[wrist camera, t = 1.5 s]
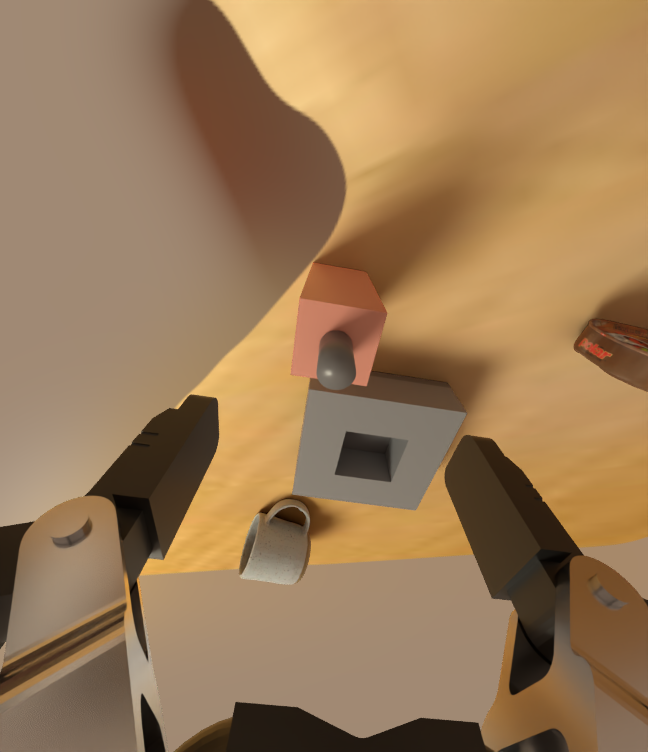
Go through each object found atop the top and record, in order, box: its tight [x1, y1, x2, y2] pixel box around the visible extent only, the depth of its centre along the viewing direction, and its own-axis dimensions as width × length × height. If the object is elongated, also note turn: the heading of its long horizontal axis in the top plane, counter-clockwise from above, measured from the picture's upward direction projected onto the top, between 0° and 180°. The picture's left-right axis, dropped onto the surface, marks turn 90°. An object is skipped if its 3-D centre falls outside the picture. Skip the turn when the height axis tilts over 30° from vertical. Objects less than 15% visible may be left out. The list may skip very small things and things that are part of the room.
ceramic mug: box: [239, 499, 311, 584], centre depth 39 cm, size 11×8×8 cm
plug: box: [291, 262, 387, 390], centre depth 19 cm, size 4×4×14 cm
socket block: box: [292, 371, 467, 510], centre depth 30 cm, size 14×14×5 cm
